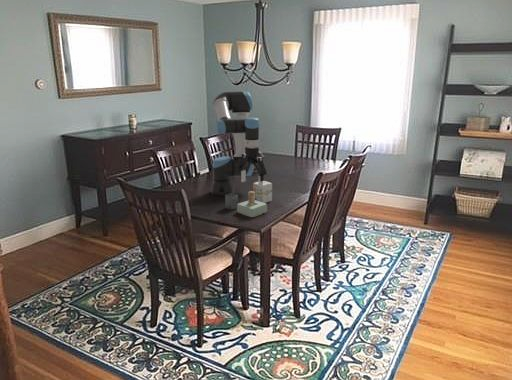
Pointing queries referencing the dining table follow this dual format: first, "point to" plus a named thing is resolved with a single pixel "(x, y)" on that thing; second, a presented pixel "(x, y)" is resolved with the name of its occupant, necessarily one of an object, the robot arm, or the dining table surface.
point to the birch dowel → (251, 198)
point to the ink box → (263, 192)
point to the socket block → (252, 208)
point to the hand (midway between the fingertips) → (251, 184)
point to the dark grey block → (231, 201)
